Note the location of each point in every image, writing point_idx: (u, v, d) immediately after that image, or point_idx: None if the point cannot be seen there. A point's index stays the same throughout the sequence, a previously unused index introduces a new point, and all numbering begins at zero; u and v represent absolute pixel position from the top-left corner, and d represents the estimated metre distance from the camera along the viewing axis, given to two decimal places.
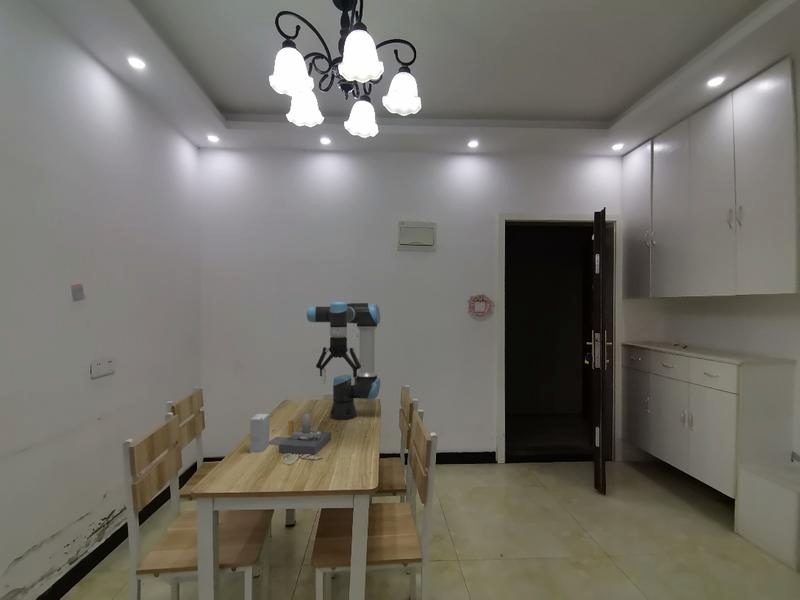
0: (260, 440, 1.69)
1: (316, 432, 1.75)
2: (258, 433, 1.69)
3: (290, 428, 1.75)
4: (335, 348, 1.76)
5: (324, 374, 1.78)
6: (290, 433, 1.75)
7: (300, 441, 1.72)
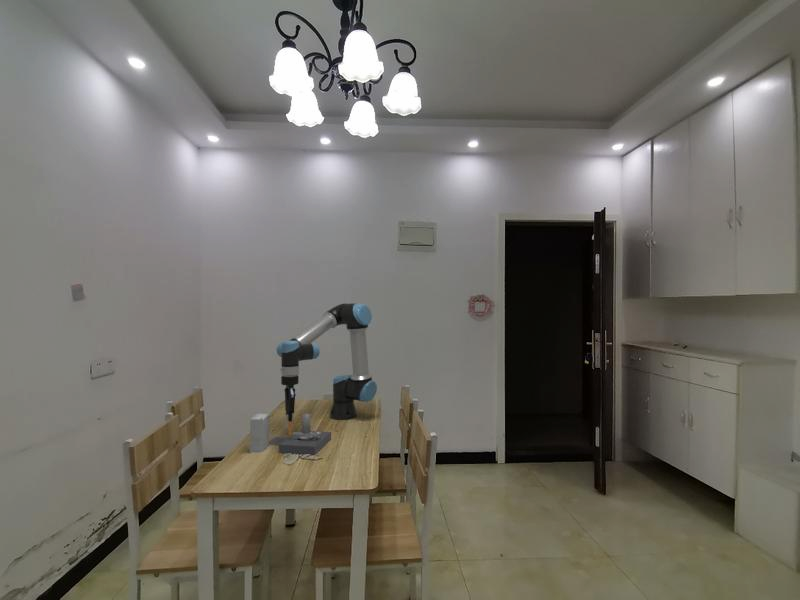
0: (260, 440, 1.69)
1: (316, 432, 1.75)
2: (258, 433, 1.69)
3: (290, 428, 1.75)
4: None
5: None
6: (290, 433, 1.75)
7: (300, 441, 1.72)
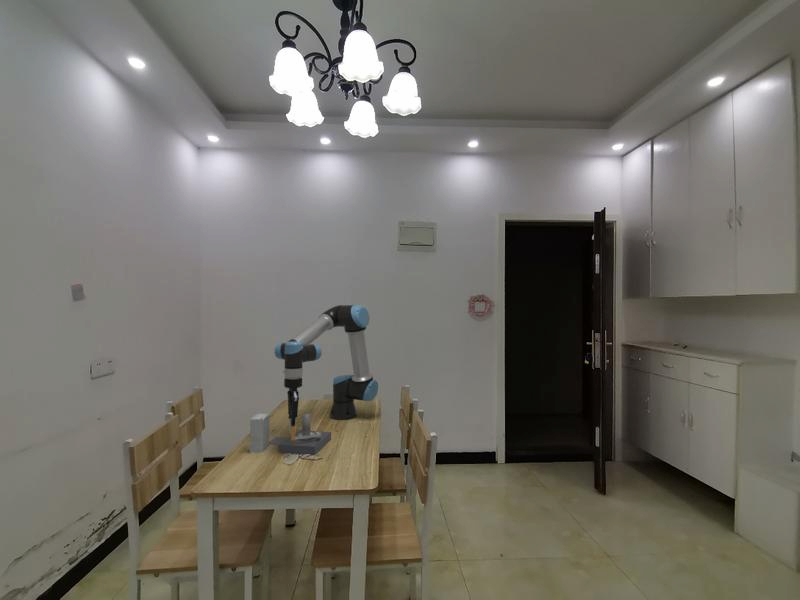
0: (260, 440, 1.69)
1: (317, 432, 1.75)
2: (258, 433, 1.69)
3: (293, 433, 1.68)
4: None
5: None
6: (293, 438, 1.68)
7: (300, 441, 1.72)
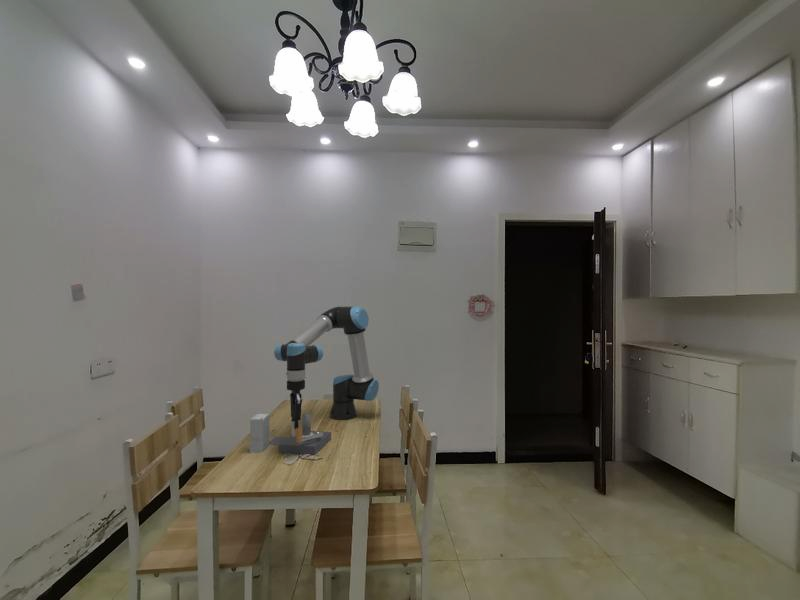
0: (260, 440, 1.69)
1: (318, 432, 1.75)
2: (258, 433, 1.69)
3: (300, 435, 1.65)
4: None
5: None
6: (300, 440, 1.65)
7: None
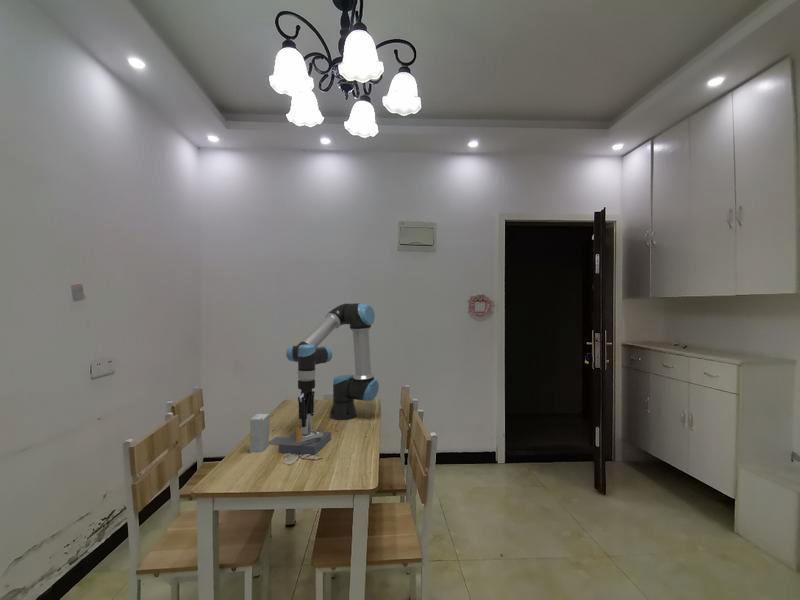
0: (260, 440, 1.69)
1: (318, 432, 1.75)
2: (258, 433, 1.69)
3: (300, 435, 1.65)
4: None
5: None
6: (300, 440, 1.65)
7: None
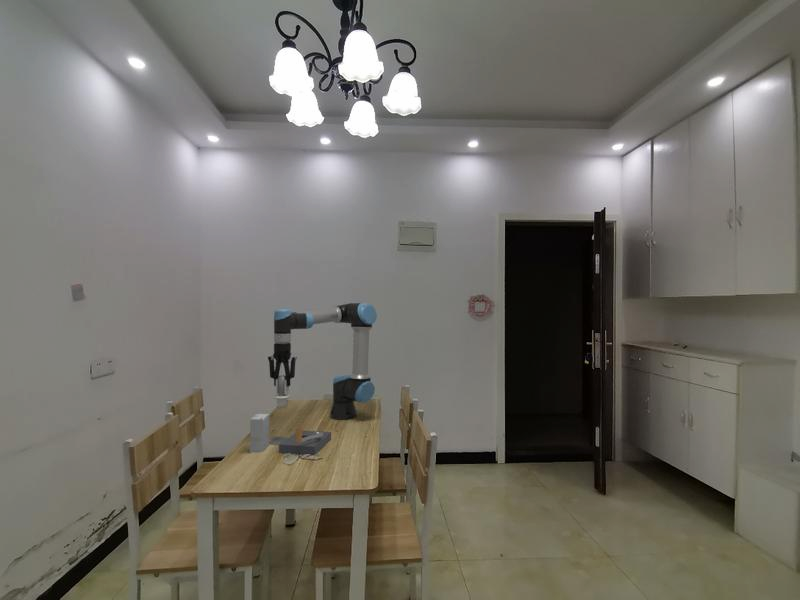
0: (260, 440, 1.69)
1: (318, 432, 1.75)
2: (258, 433, 1.69)
3: (300, 435, 1.65)
4: (278, 352, 1.83)
5: None
6: (300, 440, 1.65)
7: None
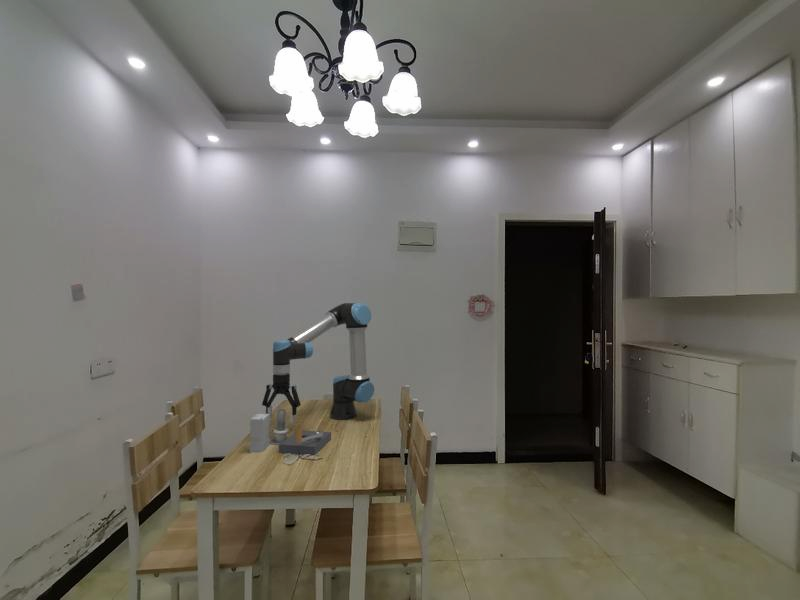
0: (260, 440, 1.69)
1: (318, 432, 1.75)
2: (258, 433, 1.69)
3: (300, 435, 1.65)
4: (277, 384, 1.83)
5: (270, 411, 1.84)
6: (300, 440, 1.65)
7: None
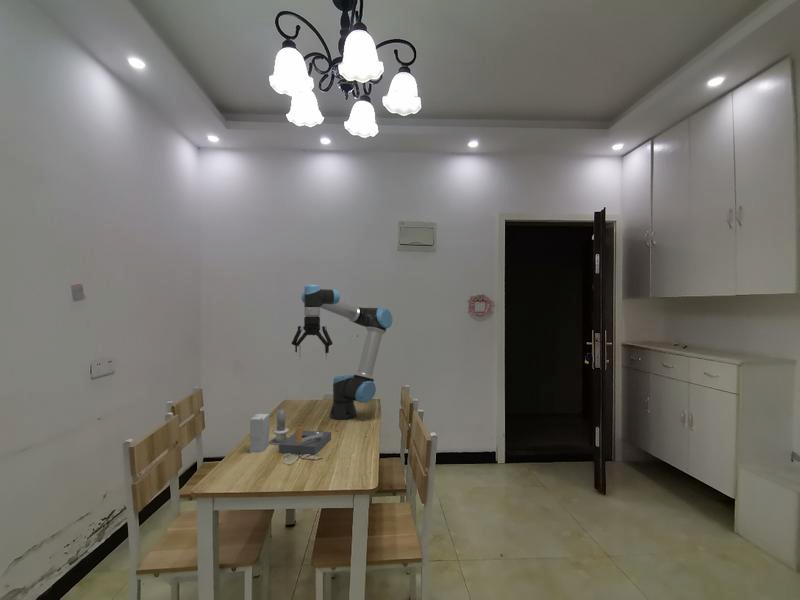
0: (260, 440, 1.69)
1: (318, 432, 1.75)
2: (258, 433, 1.69)
3: (300, 435, 1.65)
4: (309, 326, 1.93)
5: (299, 350, 1.95)
6: (300, 440, 1.65)
7: None
